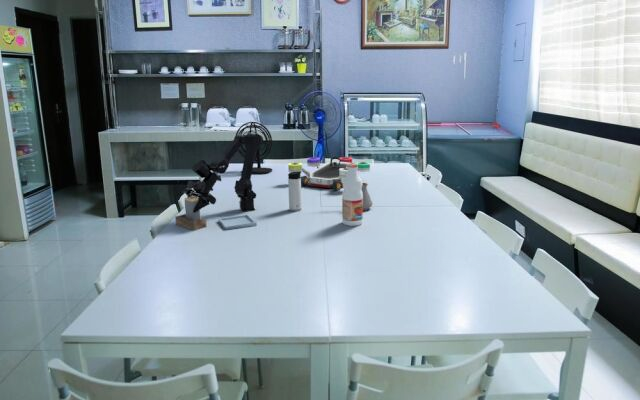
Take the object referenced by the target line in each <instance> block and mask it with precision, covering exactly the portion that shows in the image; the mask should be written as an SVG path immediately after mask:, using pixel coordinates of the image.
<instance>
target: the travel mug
mask: <svg viewBox="0 0 640 400" xmlns="http://www.w3.org/2000/svg"><path fill="white" fill-rule="evenodd" d="M301 174H302V172H301V171H296V172H289V173H287V177H288V179H287V180H288V182H287V184H288V207H289V211H290V212H300V211H302V186H301V177H302V176H301Z"/></svg>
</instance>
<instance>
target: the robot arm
mask: <svg viewBox="0 0 640 400" xmlns="http://www.w3.org/2000/svg"><path fill="white" fill-rule="evenodd" d="M247 133H248V132H247ZM247 133H246V134H244V135H243V134H242V135H237V136H236V135H235V136H234V139H233V140H231V142H230V144H229V145H227V147H226V148H225V149H224V151H223V152H222V153H221V154H220V155H219V156H218V157H216V158H214V160H212V161H211V162H210V163H208V164H207V163H206V161H205V160H204V159H200V160H199V161H197V162H196V163H194V164H193V166H192V169H191V171H193V172H194V173H195V174H196V175H197V176H198V177H200V178H202V180H200V181H199V180H197V181H193V180H188V182H187V185H186V186H187V187H185V188H184V189H183V193H184V194H185V195H186V196H187V197H191V196H192V197H196V198H198V203H197V204H196V206H195V208H194V210H193V212H194V213H195V212H197V211H198V210H202V209H203V208H205V207H207V206H209V205H210V204H211V205H215V204H216V203H217V198H216V197H215V196H214V195H212V194H211V193H210V192H213V191H214V186H215V184H216V183H217V181H218V182H222V177H221V175H220V174H225V173H226V171H227V170H228V168H229V166H230V162H231V161H232V158H233V157H235V155H236V154H237V153H238V150H239V148H240V149H241V146H243V145H244V149H245V150H246V153H245V152H244V154H245V155H244V156H245V158H244V157H243V159H244V160H243V164H242V170H241V176H240V178H239V179H238V180H237V179H236V180H235V184H234V187H233V188H234V192H235V194H236V195H237V197H238V199H239V198H240V199H239V202H238V203H239V204H238V205H239V209H240V210H241V211H242V212H249V211H256V208H255V202H254V201H255V200H254V199H256V198H257V193H256V192H255V191H253V183H252V180H251V179H252V169H253V167H254V162H255V161H254V159H255V156H256V151H257V150H258V148H259V147H261V141H262V138H261V136H262V135H261V136H260V134H259V133H257V134H255V133H253V132H251V133H250V132H249V133H248V134H247ZM243 143H244V144H243ZM187 197H186V198H187Z"/></svg>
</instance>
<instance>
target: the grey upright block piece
mask: <svg viewBox="0 0 640 400" xmlns="http://www.w3.org/2000/svg"><path fill="white" fill-rule="evenodd" d="M197 203H198V197H197V198H196V197H192V196H191V197H184V208H185V209H184V210H185V211H184V212H185V214H186V219H188V220H191V221H196V220H200V219H201V211H200V210H201V209H200V210H198V211H197V212H195V213H194V212H193V210H194V208H195V206H196V204H197Z"/></svg>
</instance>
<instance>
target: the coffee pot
mask: <svg viewBox="0 0 640 400" xmlns="http://www.w3.org/2000/svg"><path fill="white" fill-rule="evenodd" d="M332 181H335V182H337V183H338V184H340V185H343V183H342V182H339V181H337V180H334V179H332ZM332 181H331V183H332ZM368 185H369V183H366V182H362V188H361V190H362V193H363V211H368V210H369V209H371V207H372V206H373V204H374V203H373V200H372V199H371V195H370V194H369V191H368V188H367V186H368Z"/></svg>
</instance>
